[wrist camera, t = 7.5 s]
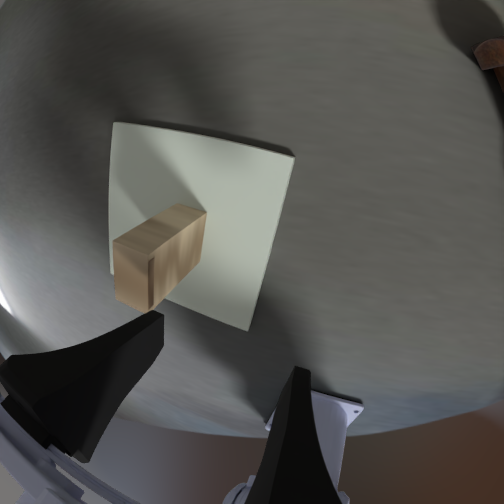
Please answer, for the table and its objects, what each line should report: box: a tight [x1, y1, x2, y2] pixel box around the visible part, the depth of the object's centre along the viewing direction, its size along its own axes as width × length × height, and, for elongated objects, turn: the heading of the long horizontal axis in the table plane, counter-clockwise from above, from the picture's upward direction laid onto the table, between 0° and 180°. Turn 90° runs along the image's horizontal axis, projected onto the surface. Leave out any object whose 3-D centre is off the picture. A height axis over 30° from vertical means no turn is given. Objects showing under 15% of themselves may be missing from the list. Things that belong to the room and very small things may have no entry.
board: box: [109, 122, 295, 332], centre depth 21 cm, size 14×14×1 cm
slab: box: [112, 203, 207, 313], centre depth 18 cm, size 4×2×7 cm, turn 168°
